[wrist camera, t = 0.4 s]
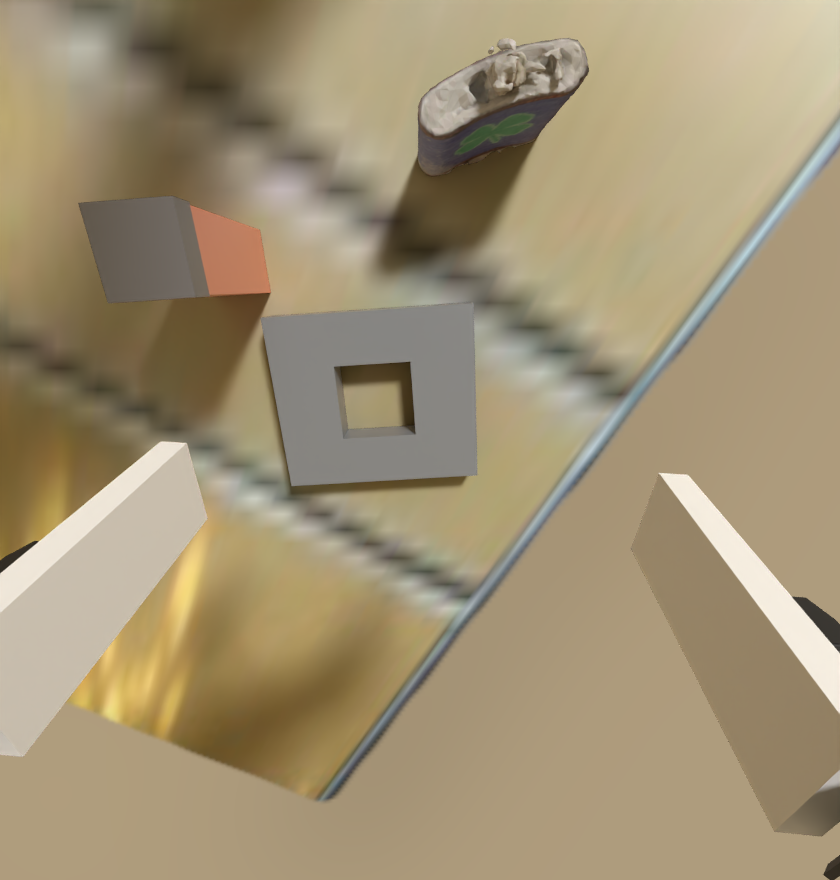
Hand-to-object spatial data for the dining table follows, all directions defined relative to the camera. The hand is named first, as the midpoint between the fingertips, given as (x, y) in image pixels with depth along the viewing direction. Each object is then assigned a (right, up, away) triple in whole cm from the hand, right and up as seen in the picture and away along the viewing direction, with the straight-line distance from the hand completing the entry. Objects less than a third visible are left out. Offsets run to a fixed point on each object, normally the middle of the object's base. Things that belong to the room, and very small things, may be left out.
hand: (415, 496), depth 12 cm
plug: (-14, +15, +21) cm, 29 cm away
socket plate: (-3, +6, +24) cm, 25 cm away
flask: (+4, +23, +18) cm, 30 cm away
